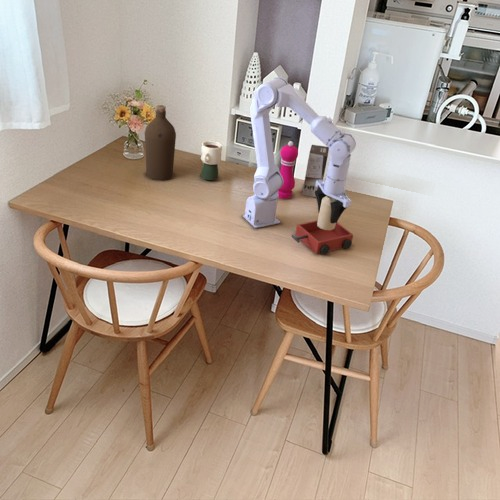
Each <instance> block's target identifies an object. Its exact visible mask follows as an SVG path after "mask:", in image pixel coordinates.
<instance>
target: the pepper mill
mask: <svg viewBox="0 0 500 500" xmlns="http://www.w3.org/2000/svg"><path fill="white" fill-rule="evenodd" d="M279 153H280V157H281V158H280V163H281V167H280V169H279V172H280V174H281V176H282V178H283V185H282V187H281V188H280V189H279V190H278V199H282V200H288V199H291V198H292V196H293V190H294V189H295V187H296V180H295V177H294V166H295V165H296V159H297V158H298V156H299V150H298V147H296V146H295V145H294V142H293V141H291V140H289V141H288V143H287V144H286V145H285V144H284V146H283V147H282V148H281V150H280V151H279Z"/></svg>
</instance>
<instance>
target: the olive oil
mask: <svg viewBox="0 0 500 500" xmlns="http://www.w3.org/2000/svg"><path fill="white" fill-rule="evenodd" d="M166 110H167V109H166V106H165V105H162V104H159V105H156V106H155V117H154V118H153V119H152V120H151V121H149V123H148V124H147V125H146V127H145V130H144V145H145V146H144V148H145V170H146V176H147V177H148V178H149V179H151V180H154V181H167V180H170V179H172V177H173V176H174V164H175V151H176V140H177V139H176V138H177V132H176V129H175V126H174V125H173V123H171V122H170V121H169V120H168V118H167V117H166V116H167V111H166Z"/></svg>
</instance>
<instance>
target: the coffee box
mask: <svg viewBox="0 0 500 500" xmlns="http://www.w3.org/2000/svg"><path fill="white" fill-rule="evenodd" d="M328 157H329V148H328V147H327V146H326V145H325V146H324V145H317V144H311V146H310V150H309V153H308V160H307V165H306V170H305V176H304V181H303V187H302V192H301V194H302V195H301V196H307V197H312V198H316V195H315V191H316V190H318V189H319V187H316V186H315V185H316V180H323V181H324V179H325V178H324V177H325V172H326V168H327V161H328Z"/></svg>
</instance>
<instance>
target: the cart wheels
mask: <svg viewBox="0 0 500 500" xmlns="http://www.w3.org/2000/svg"><path fill="white" fill-rule="evenodd" d="M291 238H292V239H293V240H294V241H295V242H297V243H298V244H299V243H300V242H301V240H300V239H303V238H308V235H304V236H300V237H296V236H295V234H291ZM352 244H353V241H352V242H351V241H350V240H349V239H347V240H345V241H344V242H343V244H342V247H343V249H344V250H349V248H351V246H352ZM329 250H330V247H329V246H328V245H326V244H325V245H323V246H322V247H321V249H320V252H321V253H320V254H322V255H327V254H328V253H329V252H330V251H329Z"/></svg>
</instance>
